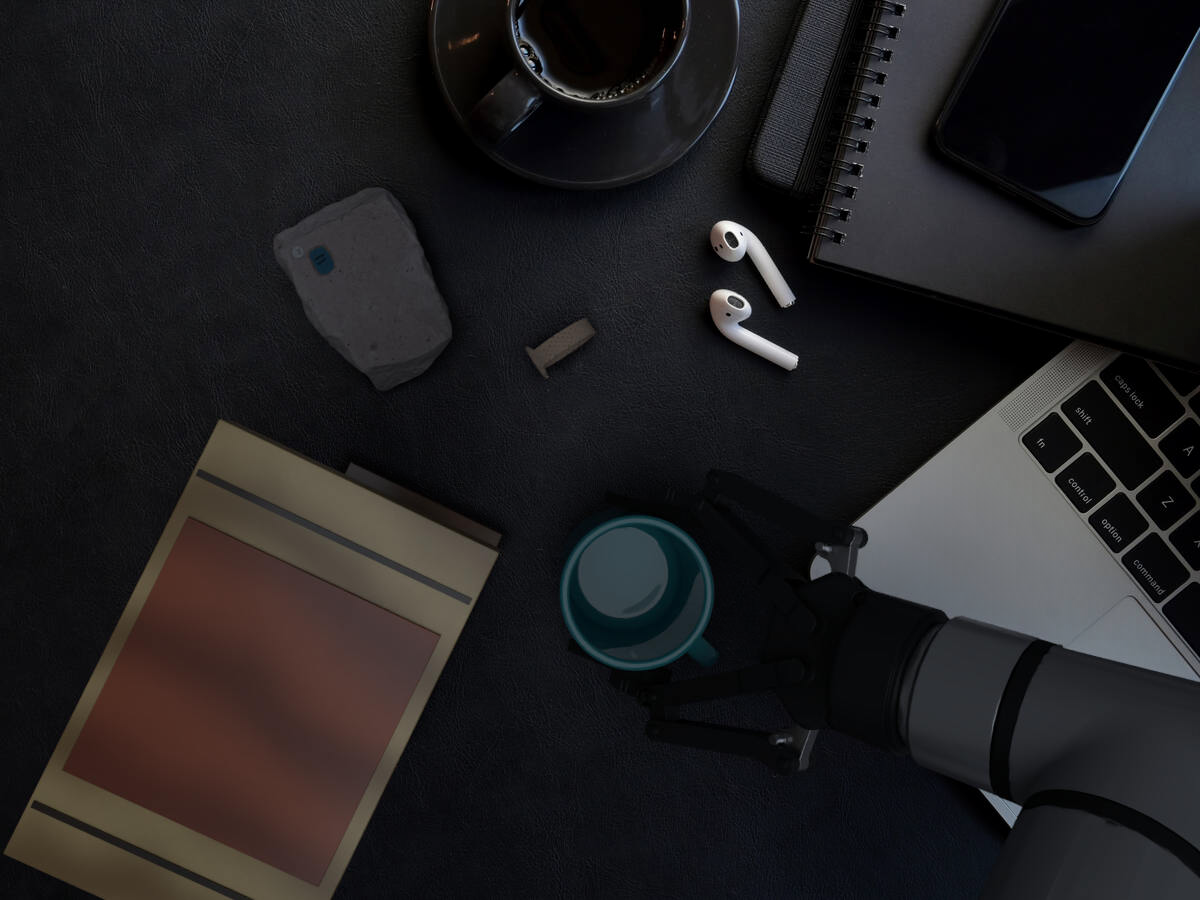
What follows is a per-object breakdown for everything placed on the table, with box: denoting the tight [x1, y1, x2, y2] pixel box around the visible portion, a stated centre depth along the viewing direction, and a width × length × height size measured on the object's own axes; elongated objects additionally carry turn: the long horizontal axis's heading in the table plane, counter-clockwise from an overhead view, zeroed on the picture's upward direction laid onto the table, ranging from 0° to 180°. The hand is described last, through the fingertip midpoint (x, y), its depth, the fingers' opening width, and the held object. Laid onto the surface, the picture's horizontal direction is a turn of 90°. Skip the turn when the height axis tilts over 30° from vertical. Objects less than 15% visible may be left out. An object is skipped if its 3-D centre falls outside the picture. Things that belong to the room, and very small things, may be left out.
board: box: [3, 418, 502, 900], centre depth 40 cm, size 20×13×2 cm, turn 154°
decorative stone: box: [272, 186, 453, 392], centre depth 65 cm, size 13×10×6 cm
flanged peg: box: [524, 317, 596, 379], centre depth 66 cm, size 3×5×5 cm, turn 123°
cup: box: [557, 507, 720, 671], centre depth 60 cm, size 9×12×11 cm
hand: (600, 572), depth 61 cm, fingers closed on cup, 9 cm apart
